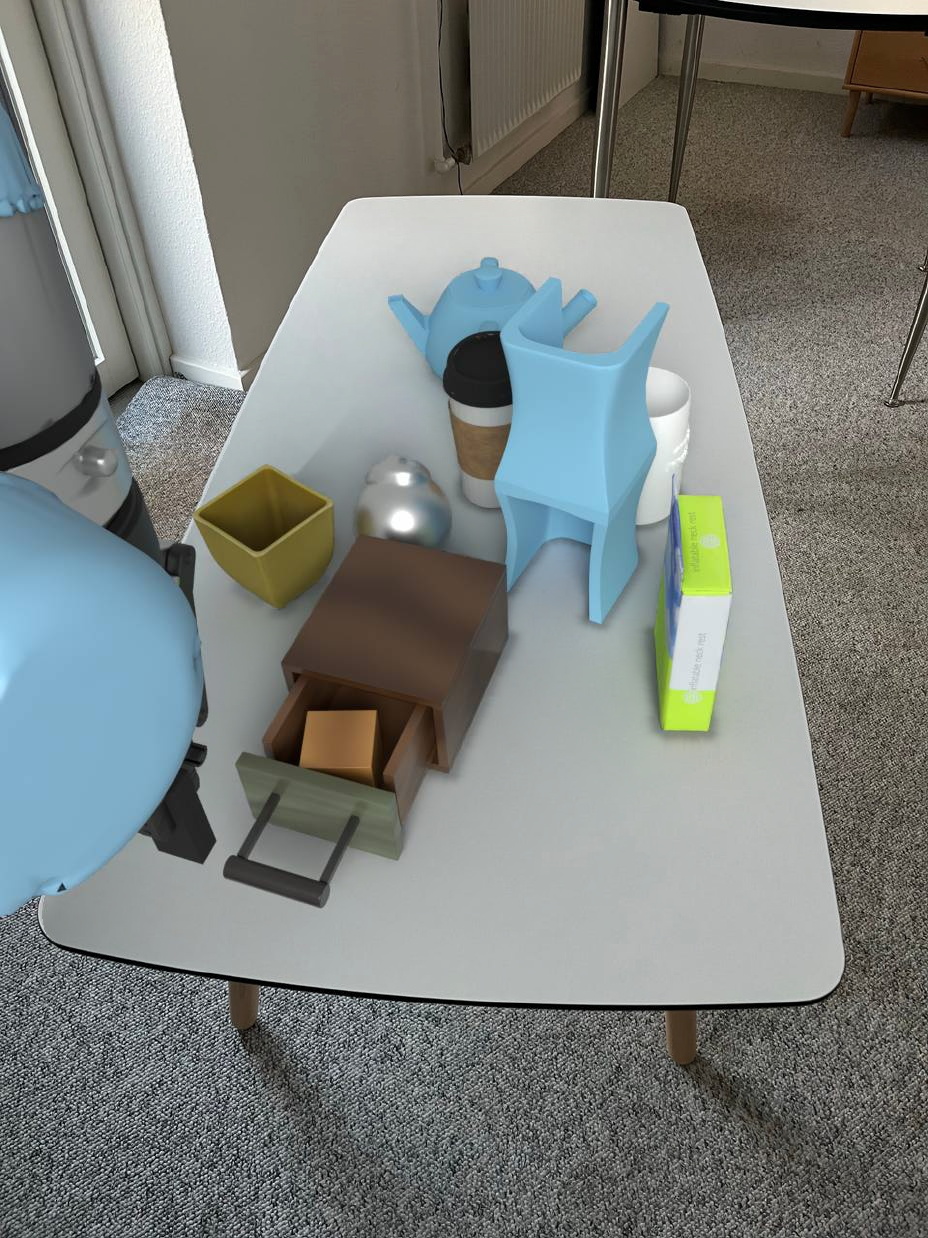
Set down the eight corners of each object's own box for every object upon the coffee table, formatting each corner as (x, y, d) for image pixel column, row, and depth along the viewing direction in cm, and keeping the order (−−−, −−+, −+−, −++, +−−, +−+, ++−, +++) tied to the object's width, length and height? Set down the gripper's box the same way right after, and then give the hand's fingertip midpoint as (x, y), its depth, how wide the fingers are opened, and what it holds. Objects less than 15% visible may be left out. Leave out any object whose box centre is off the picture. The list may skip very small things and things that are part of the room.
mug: (688, 451, 106) (702, 346, 97) (676, 530, 98) (690, 423, 89) (605, 442, 108) (612, 338, 99) (587, 520, 100) (592, 413, 91)
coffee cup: (549, 472, 105) (551, 338, 94) (517, 526, 100) (515, 390, 89) (471, 453, 107) (464, 320, 97) (435, 504, 102) (424, 370, 91)
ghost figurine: (467, 527, 100) (462, 440, 93) (439, 597, 94) (430, 511, 86) (376, 513, 102) (364, 427, 95) (342, 581, 96) (326, 495, 88)
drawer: (359, 948, 70) (346, 897, 66) (207, 899, 74) (184, 847, 69) (462, 716, 83) (458, 658, 78) (330, 683, 86) (317, 625, 81)
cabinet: (449, 774, 81) (442, 702, 75) (298, 734, 84) (280, 662, 78) (508, 638, 90) (506, 564, 84) (371, 606, 93) (359, 533, 87)
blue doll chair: (645, 552, 96) (671, 303, 78) (601, 624, 91) (617, 373, 72) (547, 521, 100) (549, 275, 82) (498, 588, 94) (489, 339, 76)
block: (309, 809, 77) (298, 768, 73) (317, 752, 80) (307, 710, 77) (379, 808, 77) (371, 767, 73) (383, 751, 80) (376, 709, 76)
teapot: (509, 427, 110) (507, 331, 102) (390, 370, 118) (379, 276, 110) (599, 361, 118) (604, 266, 110) (481, 311, 126) (477, 220, 118)
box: (710, 734, 82) (742, 572, 70) (656, 732, 83) (678, 571, 70) (699, 633, 89) (726, 470, 77) (650, 632, 90) (668, 469, 77)
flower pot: (211, 588, 96) (188, 512, 89) (283, 537, 100) (266, 460, 94) (277, 634, 92) (257, 557, 85) (349, 578, 96) (336, 501, 89)
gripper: (13, 656, 34) (188, 979, 51) (210, 420, 43) (304, 766, 60) (-171, 607, 36) (56, 934, 53) (52, 390, 44) (187, 734, 62)
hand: (187, 845), depth 57 cm, fingers closed
